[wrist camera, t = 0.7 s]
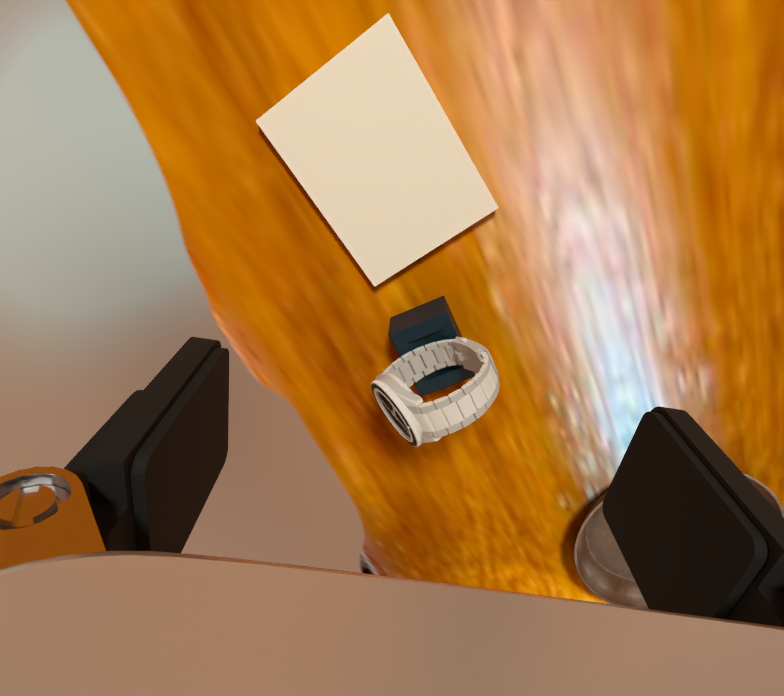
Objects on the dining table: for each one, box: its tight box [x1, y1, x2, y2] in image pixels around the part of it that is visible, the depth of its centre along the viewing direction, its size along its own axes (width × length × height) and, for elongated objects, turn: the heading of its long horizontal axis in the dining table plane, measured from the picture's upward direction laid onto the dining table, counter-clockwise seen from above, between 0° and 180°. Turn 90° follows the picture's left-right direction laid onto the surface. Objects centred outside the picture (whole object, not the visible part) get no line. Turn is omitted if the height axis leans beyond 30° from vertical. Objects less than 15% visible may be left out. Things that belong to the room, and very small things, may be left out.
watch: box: [371, 296, 500, 447], centre depth 33 cm, size 6×8×11 cm
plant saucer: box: [574, 474, 784, 609], centre depth 45 cm, size 18×18×3 cm
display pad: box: [256, 13, 498, 287], centre depth 32 cm, size 13×10×1 cm
